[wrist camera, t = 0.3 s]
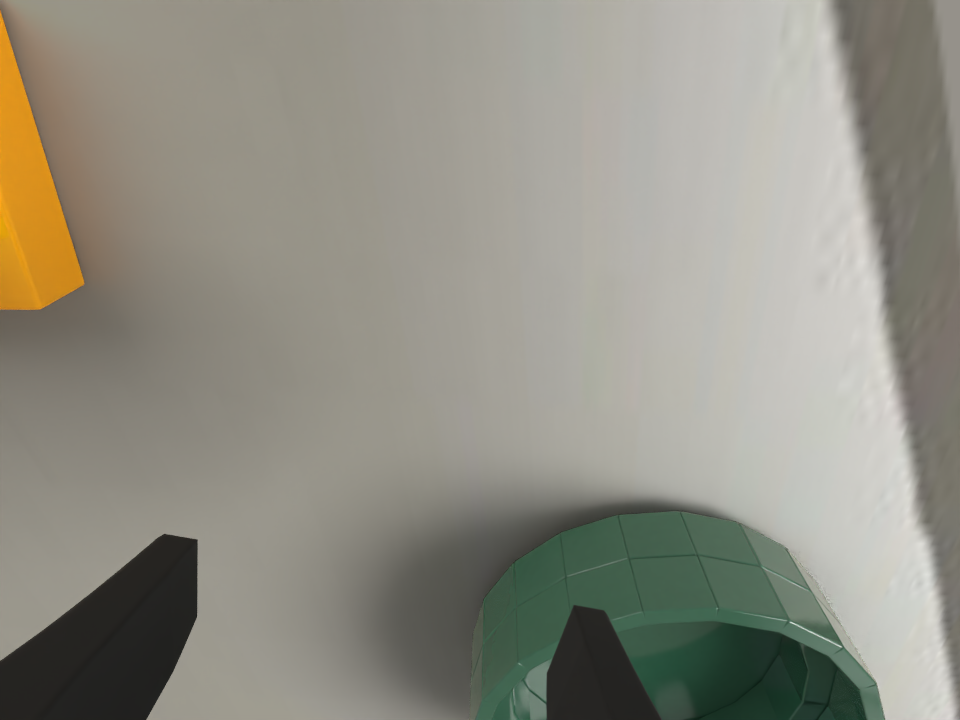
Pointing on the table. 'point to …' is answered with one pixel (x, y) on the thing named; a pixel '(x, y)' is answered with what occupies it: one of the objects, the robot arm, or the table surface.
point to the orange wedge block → (28, 204)
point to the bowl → (674, 623)
